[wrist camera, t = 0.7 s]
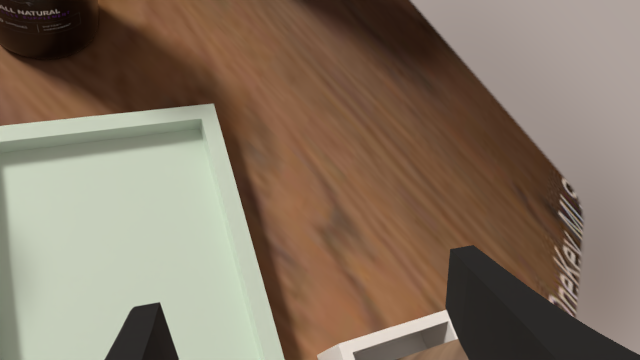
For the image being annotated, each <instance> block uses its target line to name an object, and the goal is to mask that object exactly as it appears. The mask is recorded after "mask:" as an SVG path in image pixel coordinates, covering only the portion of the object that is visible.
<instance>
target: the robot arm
mask: <svg viewBox="0 0 640 360" xmlns="http://www.w3.org/2000/svg"><path fill="white" fill-rule="evenodd" d="M446 310H447V312H448V315H449V318H450V320H451V323H452V325H453V328H454V330H455V332H456V335H457V337H458V340H459V342H460V344H461V346H462V348H463V350H464V352H465V353H466V355H467V357H468V359H469V360H640V355H639V354H637V353H635V352H632V351H631V350H629V349H627V348H625V347H623V346H622V345H620V344H618V343H616V342H614V341H613V340H611V339H609V338H607V337H605V336H604V335H602V334H600V333H598V332H596V331H595V330H593V329H591V328H590V327H588V326H587V325H585V324H583V323H582V322H580V321H579V320H577V319H575V318H574V317H572V316H571V315H569V314H568V313H566V312H564V311H563V310H561V309H560V308H558V307H557V306H555V305H554V304H552V303H551V302H549V301H548V300H547V299H545V298H544V297H542V296H541V295H539V294H538V293H537V292H535V291H534V290H532V289H531V288H530V287H528V286H527V285H525V284H524V283H523V282H521V281H520V280H519V279H517V278H516V277H515V276H513V275H512V274H511V273H509V272H508V271H507V270H505V269H504V268H503V267H501V266H500V265H499V264H497V263H496V262H495V261H493V260H492V259H491V258H490V257H488V256H487V255H486V254H484V253H483V252H482V251H480V250H479V249H478V248H476V247H475V246H474V245H472V246H466V247H461V248H455V249H450V259H449V271H448V283H447V295H446ZM104 360H179V358H178V355H177V352H176V349H175V346H174V343H173V340H172V337H171V334H170V331H169V328H168V325H167V322H166V319H165V316H164V313H163V310H162V307H161V304H160V302H157V303H152V304H146V305H141V306H135V307H133V308H132V309H131V311H130V312H129V314H128V316H127V318H126V320H125V322H124V324H123V326H122V328H121V330H120V332H119V334H118V336H117V337H116V339H115V341H114V343H113V345H112V347H111V348H110V350H109V352H108V354H107V356H106V358H105V359H104Z"/></svg>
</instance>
